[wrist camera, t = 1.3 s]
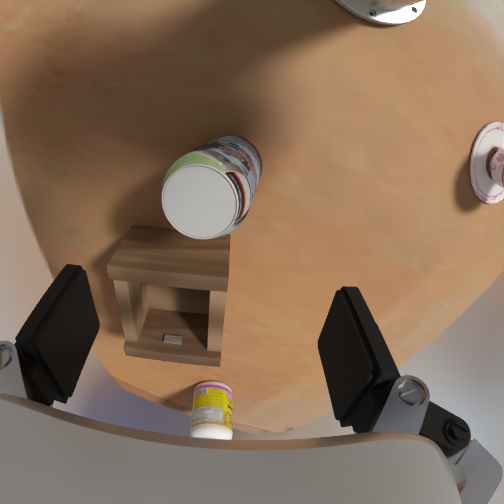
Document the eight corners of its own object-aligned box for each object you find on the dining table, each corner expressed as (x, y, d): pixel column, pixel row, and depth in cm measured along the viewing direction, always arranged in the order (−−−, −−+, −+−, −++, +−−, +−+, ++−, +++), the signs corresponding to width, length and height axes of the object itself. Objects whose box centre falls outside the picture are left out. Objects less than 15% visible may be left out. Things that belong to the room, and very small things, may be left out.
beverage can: (260, 191, 29) (273, 252, 19) (188, 194, 29) (161, 254, 19) (261, 130, 26) (276, 154, 16) (184, 133, 26) (147, 160, 15)
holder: (132, 226, 30) (106, 265, 23) (230, 234, 31) (228, 278, 25) (141, 310, 37) (125, 355, 30) (222, 318, 38) (219, 366, 31)
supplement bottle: (228, 400, 49) (228, 462, 38) (193, 395, 48) (187, 458, 37) (235, 381, 45) (236, 449, 34) (196, 376, 44) (190, 445, 33)
